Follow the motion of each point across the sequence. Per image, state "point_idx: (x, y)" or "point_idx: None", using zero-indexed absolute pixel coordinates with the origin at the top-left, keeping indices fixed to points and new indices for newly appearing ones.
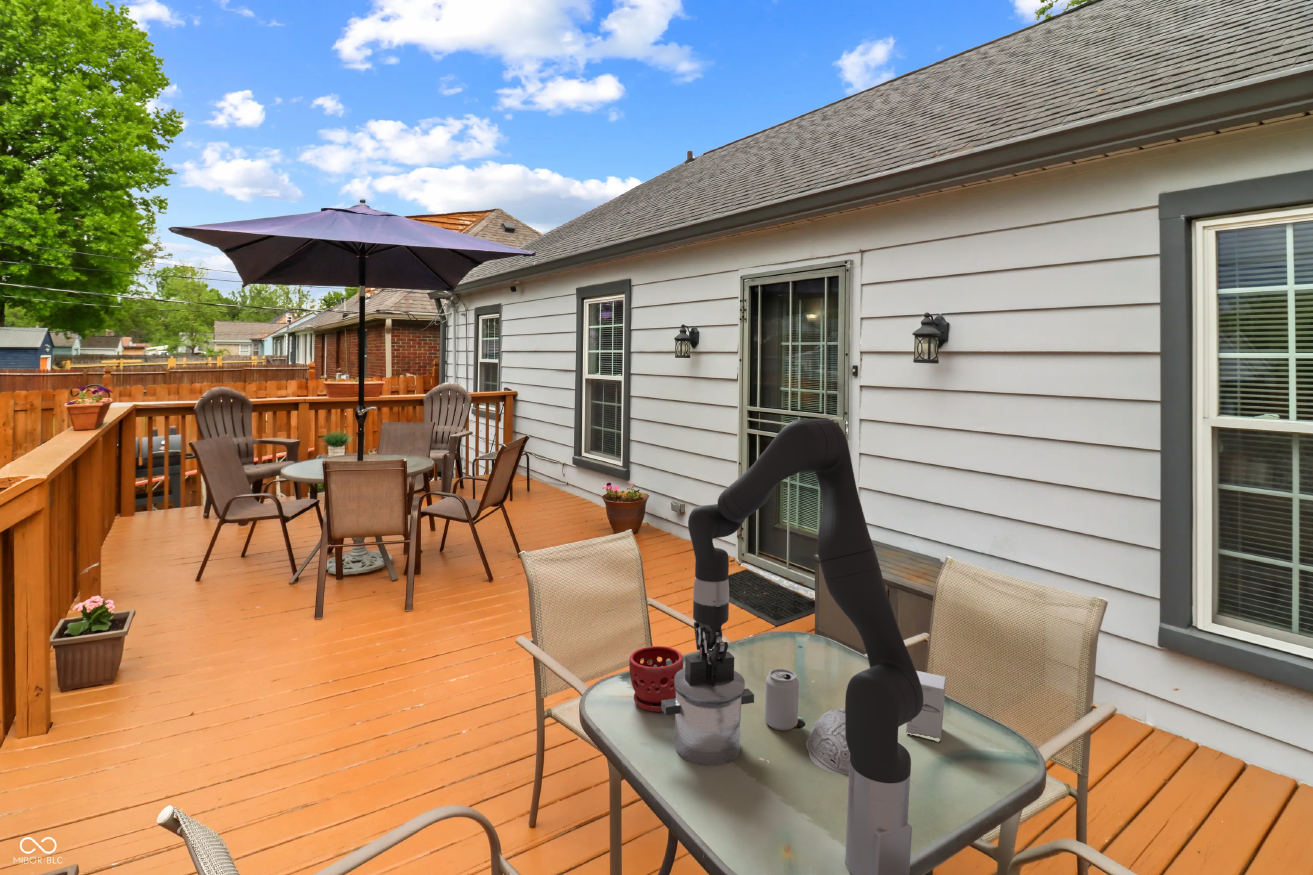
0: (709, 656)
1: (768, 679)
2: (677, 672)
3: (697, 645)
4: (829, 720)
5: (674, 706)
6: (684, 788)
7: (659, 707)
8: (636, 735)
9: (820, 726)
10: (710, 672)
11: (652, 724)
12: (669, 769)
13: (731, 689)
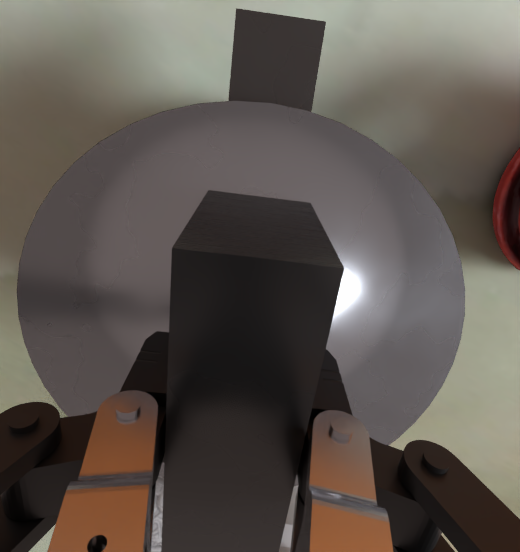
0: (84, 465)
1: (290, 535)
2: (433, 203)
3: (445, 480)
4: (156, 527)
5: (231, 73)
6: (62, 33)
7: (511, 166)
8: (424, 8)
9: (159, 499)
10: (153, 362)
11: (455, 108)
12: (176, 33)
13: (87, 387)
